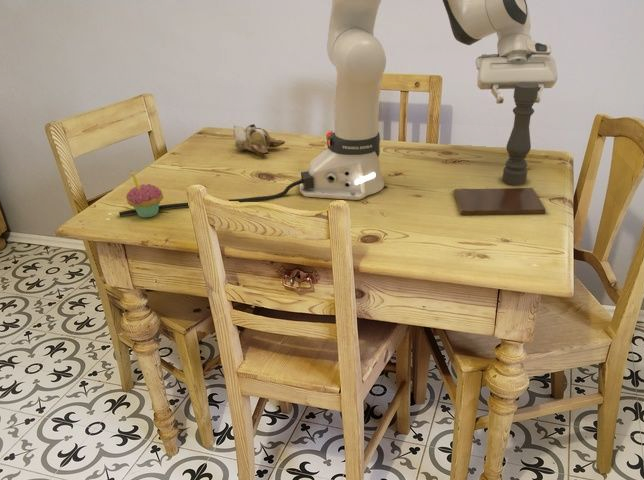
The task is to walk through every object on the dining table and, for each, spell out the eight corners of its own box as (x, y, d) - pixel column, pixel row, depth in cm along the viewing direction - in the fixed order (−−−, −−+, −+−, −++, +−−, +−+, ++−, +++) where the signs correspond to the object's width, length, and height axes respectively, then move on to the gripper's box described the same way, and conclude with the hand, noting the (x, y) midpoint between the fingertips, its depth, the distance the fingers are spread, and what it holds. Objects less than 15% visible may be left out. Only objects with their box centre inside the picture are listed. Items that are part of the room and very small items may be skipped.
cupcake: (147, 223, 145) (136, 176, 138) (123, 216, 149) (111, 169, 142) (173, 210, 151) (164, 164, 144) (149, 203, 155) (139, 158, 148)
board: (461, 215, 145) (461, 210, 144) (454, 193, 156) (454, 189, 155) (544, 213, 144) (545, 209, 144) (531, 192, 155) (532, 187, 155)
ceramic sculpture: (243, 115, 187) (285, 123, 182) (245, 142, 192) (286, 151, 187) (223, 125, 179) (266, 134, 174) (226, 153, 184) (268, 163, 179)
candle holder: (526, 186, 158) (540, 88, 145) (502, 184, 160) (514, 87, 146) (525, 177, 163) (539, 82, 150) (502, 175, 165) (513, 81, 151)
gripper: (477, 47, 156) (480, 96, 153) (557, 45, 155) (561, 94, 152) (473, 61, 162) (475, 109, 159) (549, 60, 161) (553, 107, 159)
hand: (518, 102), depth 156 cm, fingers open, 8 cm apart
